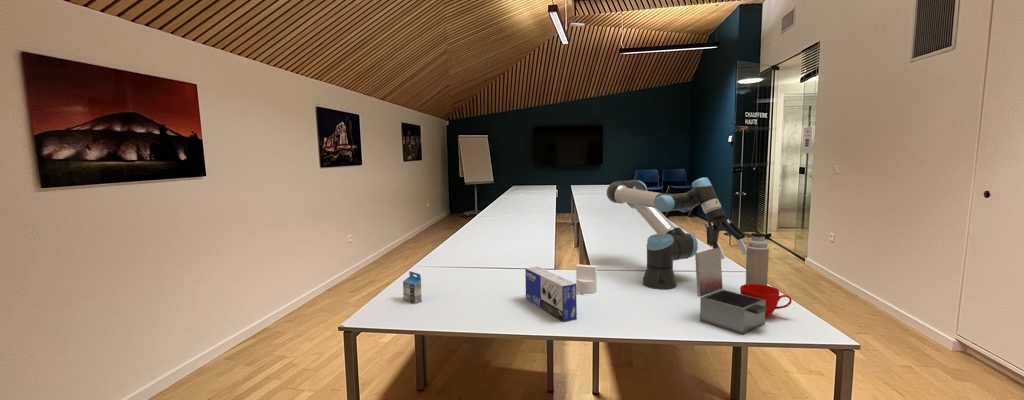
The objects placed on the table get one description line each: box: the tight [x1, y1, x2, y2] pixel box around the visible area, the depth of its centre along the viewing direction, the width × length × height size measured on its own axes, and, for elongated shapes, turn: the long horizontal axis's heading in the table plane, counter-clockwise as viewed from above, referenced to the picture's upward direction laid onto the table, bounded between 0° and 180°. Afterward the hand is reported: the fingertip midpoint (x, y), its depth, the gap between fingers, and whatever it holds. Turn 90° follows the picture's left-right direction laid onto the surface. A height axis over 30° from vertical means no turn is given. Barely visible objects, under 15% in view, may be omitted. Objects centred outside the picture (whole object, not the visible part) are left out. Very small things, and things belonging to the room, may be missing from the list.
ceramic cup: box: [739, 283, 793, 318], centre depth 169 cm, size 13×17×10 cm
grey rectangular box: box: [699, 289, 766, 335], centre depth 161 cm, size 18×15×9 cm
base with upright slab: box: [575, 263, 598, 295], centre depth 201 cm, size 9×9×12 cm
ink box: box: [524, 266, 578, 322], centre depth 181 cm, size 30×7×14 cm, turn 26°
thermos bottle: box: [745, 232, 770, 286], centre depth 185 cm, size 8×8×28 cm
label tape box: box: [402, 270, 423, 304], centre depth 194 cm, size 9×4×12 cm, turn 47°
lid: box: [694, 248, 724, 298], centre depth 169 cm, size 16×15×2 cm
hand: (734, 256), depth 189 cm, fingers open, 13 cm apart
